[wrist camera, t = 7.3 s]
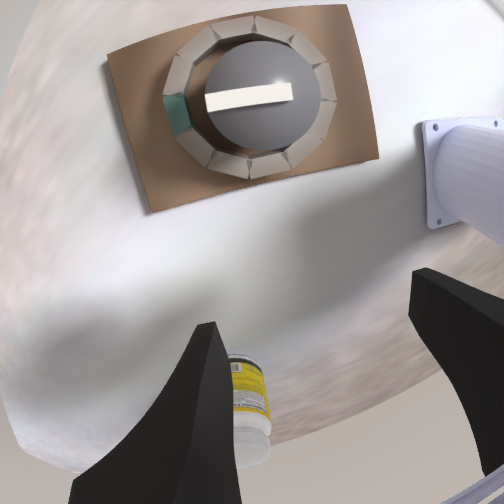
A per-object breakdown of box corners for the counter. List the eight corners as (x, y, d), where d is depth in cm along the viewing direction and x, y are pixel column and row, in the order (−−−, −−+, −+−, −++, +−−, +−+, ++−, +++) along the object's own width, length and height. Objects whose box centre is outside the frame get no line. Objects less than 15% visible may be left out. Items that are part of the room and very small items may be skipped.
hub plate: (341, 8, 13) (357, -4, 11) (373, 156, 18) (391, 163, 16) (111, 56, 14) (96, 50, 11) (155, 208, 18) (146, 222, 16)
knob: (286, 56, 14) (315, 35, 9) (297, 133, 16) (329, 144, 11) (203, 67, 14) (195, 48, 9) (217, 145, 16) (215, 160, 11)
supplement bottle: (242, 395, 26) (251, 474, 19) (196, 379, 25) (193, 463, 17) (273, 364, 25) (290, 449, 17) (223, 345, 23) (227, 437, 16)
